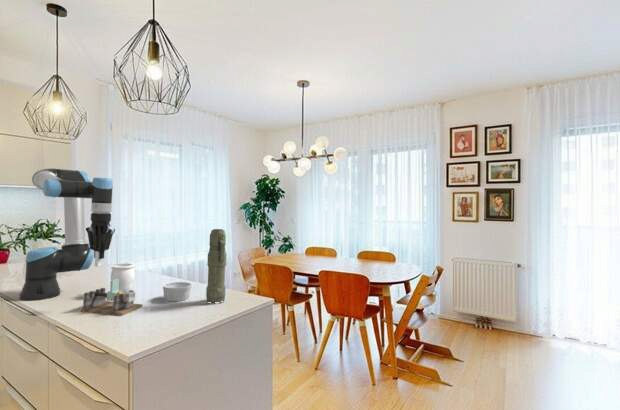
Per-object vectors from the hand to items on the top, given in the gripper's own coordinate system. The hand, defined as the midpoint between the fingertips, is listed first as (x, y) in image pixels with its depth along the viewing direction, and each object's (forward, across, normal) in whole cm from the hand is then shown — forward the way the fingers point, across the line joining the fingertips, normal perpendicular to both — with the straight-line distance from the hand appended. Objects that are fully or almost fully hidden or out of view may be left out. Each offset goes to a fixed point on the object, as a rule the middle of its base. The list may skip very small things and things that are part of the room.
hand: (98, 265), depth 142 cm
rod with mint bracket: (+18, +9, -1) cm, 20 cm away
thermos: (+18, +46, +22) cm, 54 cm away
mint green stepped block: (+14, +9, -1) cm, 17 cm away
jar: (+19, -4, +20) cm, 28 cm away
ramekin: (+18, +26, +21) cm, 38 cm away
